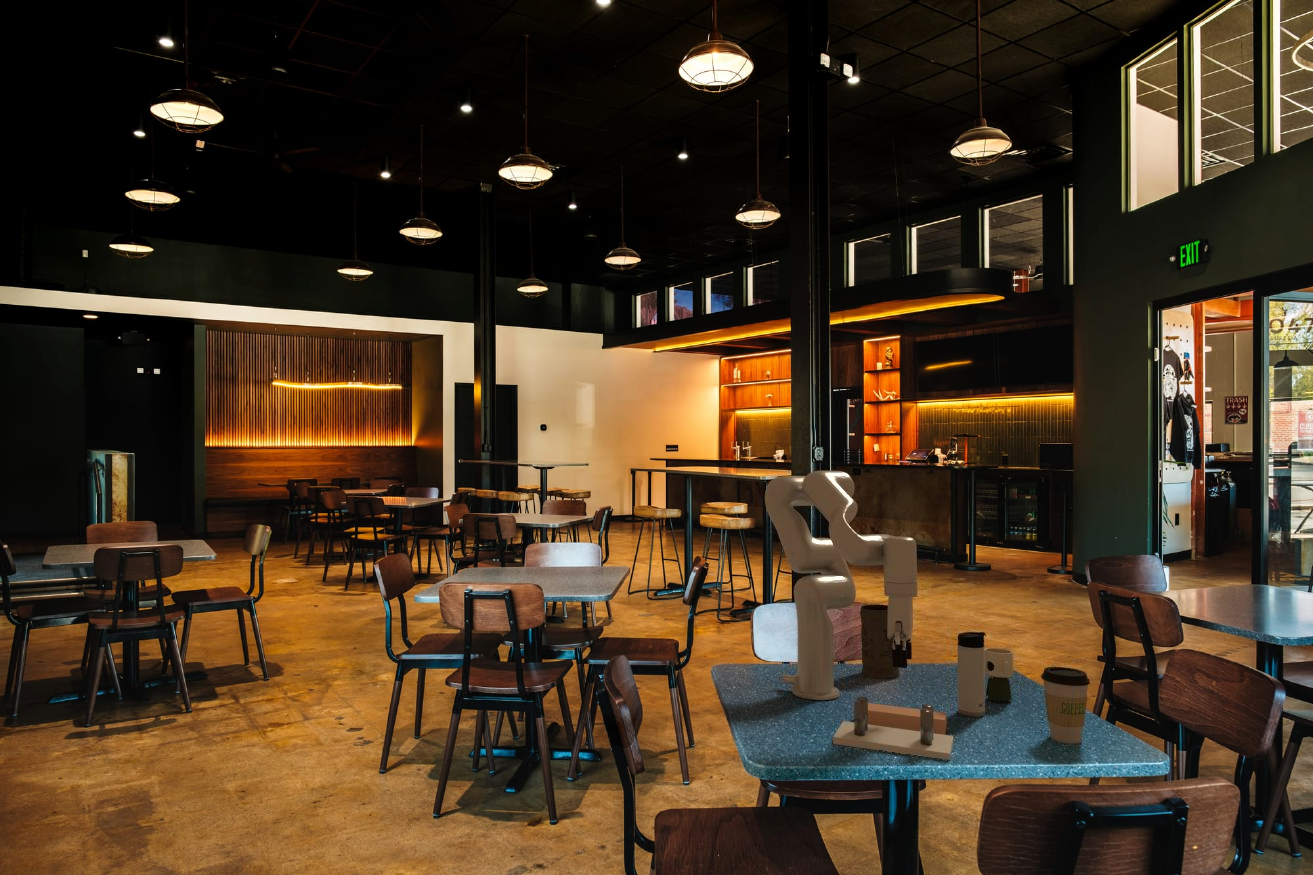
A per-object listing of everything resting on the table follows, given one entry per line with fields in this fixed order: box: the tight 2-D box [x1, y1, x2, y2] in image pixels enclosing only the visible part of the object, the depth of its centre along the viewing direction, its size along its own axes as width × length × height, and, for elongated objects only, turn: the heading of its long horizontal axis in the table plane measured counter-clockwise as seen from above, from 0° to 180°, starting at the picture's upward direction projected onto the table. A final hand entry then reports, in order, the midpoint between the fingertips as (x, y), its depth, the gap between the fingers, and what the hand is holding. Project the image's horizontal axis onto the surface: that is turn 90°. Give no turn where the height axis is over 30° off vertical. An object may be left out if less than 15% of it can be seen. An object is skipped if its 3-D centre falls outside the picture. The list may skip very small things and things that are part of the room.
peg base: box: [832, 721, 954, 760], centre depth 174 cm, size 24×12×2 cm, turn 66°
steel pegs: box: [853, 696, 934, 746], centre depth 174 cm, size 16×6×7 cm, turn 66°
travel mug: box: [957, 631, 987, 718], centre depth 196 cm, size 6×7×20 cm
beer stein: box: [859, 604, 901, 679], centre depth 234 cm, size 15×11×20 cm
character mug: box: [984, 647, 1014, 703], centre depth 207 cm, size 11×7×13 cm, turn 179°
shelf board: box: [868, 702, 948, 735], centre depth 186 cm, size 20×6×4 cm, turn 66°
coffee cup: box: [1040, 666, 1091, 744], centre depth 178 cm, size 10×10×15 cm
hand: (902, 662), depth 186 cm, fingers open, 9 cm apart
